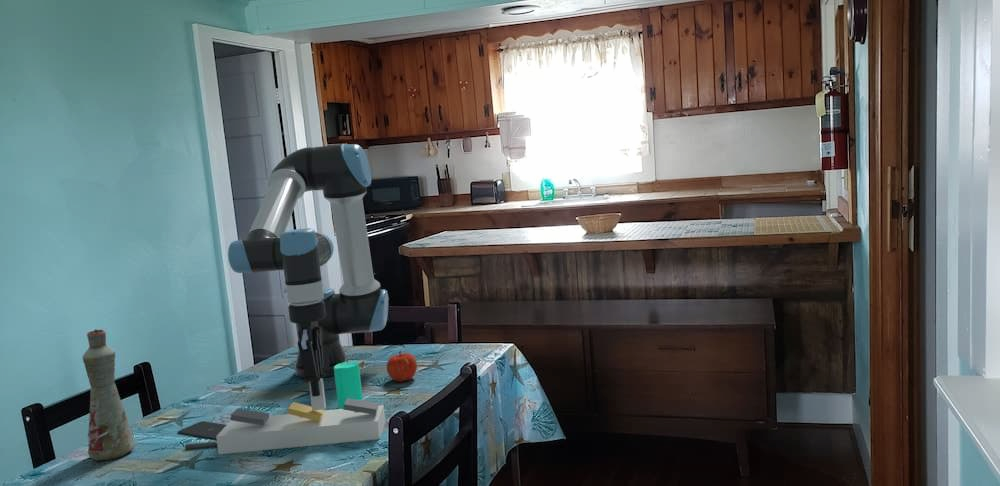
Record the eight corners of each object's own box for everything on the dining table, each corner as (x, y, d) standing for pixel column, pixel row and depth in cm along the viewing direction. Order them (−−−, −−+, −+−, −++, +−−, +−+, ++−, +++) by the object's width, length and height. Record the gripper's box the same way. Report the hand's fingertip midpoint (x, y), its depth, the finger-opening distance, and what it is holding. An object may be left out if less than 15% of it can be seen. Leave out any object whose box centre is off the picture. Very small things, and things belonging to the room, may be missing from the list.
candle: (357, 410, 171) (352, 362, 169) (334, 411, 172) (328, 362, 171) (367, 402, 177) (361, 354, 175) (344, 402, 178) (339, 355, 176)
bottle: (131, 457, 153) (112, 330, 150) (84, 466, 151) (63, 337, 147) (139, 443, 161) (121, 322, 158) (95, 451, 159) (75, 328, 156)
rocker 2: (291, 407, 156) (293, 401, 156) (323, 414, 157) (324, 409, 157) (287, 413, 152) (288, 408, 152) (319, 421, 153) (320, 416, 153)
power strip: (194, 440, 160) (191, 422, 160) (385, 421, 162) (383, 404, 161) (175, 458, 150) (172, 439, 150) (379, 439, 152) (377, 420, 151)
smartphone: (201, 419, 172) (245, 426, 165) (202, 423, 172) (246, 430, 165) (175, 431, 166) (219, 438, 159) (175, 434, 166) (220, 442, 159)
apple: (423, 379, 191) (420, 350, 190) (396, 386, 187) (393, 357, 186) (409, 373, 198) (406, 345, 197) (383, 380, 193) (380, 351, 193)
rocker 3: (346, 403, 157) (347, 398, 157) (378, 408, 157) (378, 403, 157) (343, 409, 153) (344, 404, 153) (375, 414, 153) (376, 409, 153)
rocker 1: (236, 413, 156) (237, 408, 156) (268, 418, 156) (269, 413, 156) (230, 420, 152) (231, 414, 152) (263, 425, 152) (264, 420, 152)
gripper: (295, 297, 158) (308, 400, 161) (280, 309, 145) (294, 421, 148) (329, 294, 158) (342, 397, 161) (317, 306, 145) (330, 417, 148)
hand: (319, 408), depth 154 cm, fingers closed
